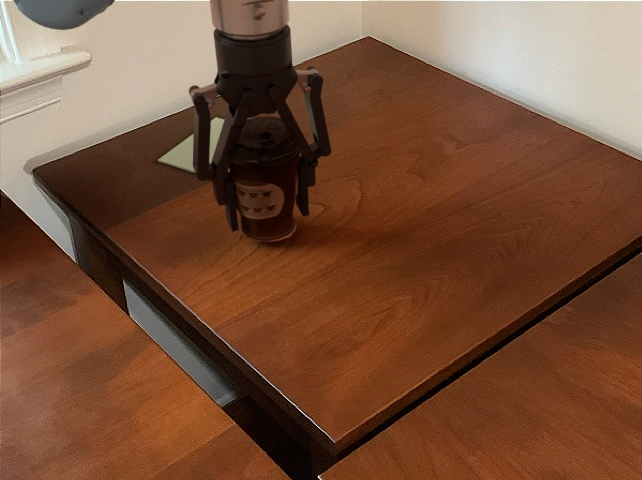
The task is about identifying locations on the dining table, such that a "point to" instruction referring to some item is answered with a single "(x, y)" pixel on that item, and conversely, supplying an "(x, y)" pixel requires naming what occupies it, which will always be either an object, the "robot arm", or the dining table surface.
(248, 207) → the coffee cup
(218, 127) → the mat
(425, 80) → the dining table surface
